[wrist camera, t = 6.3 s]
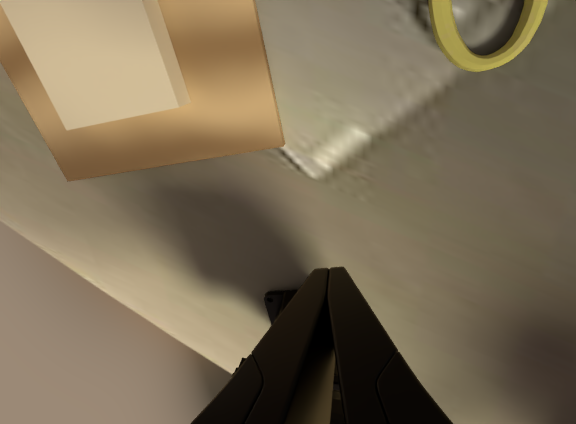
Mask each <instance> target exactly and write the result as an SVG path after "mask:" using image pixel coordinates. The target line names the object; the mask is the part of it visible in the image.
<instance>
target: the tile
mask: <svg viewBox="0 0 576 424" xmlns="http://www.w3.org/2000/svg"><path fill="white" fill-rule="evenodd" d="M0 4H1V6H2V8H3V10H4V12H5V14H6V16H7V17H8V19H9V21H10V23H11V25H12V27H13V29H14V31H15V33H16V35H17V37H18V39H19V40H20V42H21V44H22V46H23V48H24V50H25V52H26V54H27V56H28V58H29V60H30V62H31V63H32V65H33V67H34V69H35V71H36V73H37V75H38V77H39V79H40V81H41V83H42V84H43V86H44V88H45V90H46V92H47V94H48V96H49V98H50V100H51V102H52V104H53V106H54V107H55V109H56V111H57V113H58V115H59V117H60V119H61V121H62V123H63V125H64V127H65V129H66V130H71V129H76V128H81V127H86V126H91V125H96V124H101V123H105V122H110V121H115V120H120V119H125V118H130V117H135V116H140V115H144V114H149V113H154V112H159V111H164V110H169V109H174V108H179V107H181V106H184V105H186V104H188V103H191V101H190V98H189V94H188V91H187V88H186V85H185V82H184V79H183V76H182V73H181V70H180V67H179V64H178V61H177V58H176V55H175V52H174V49H173V46H172V43H171V40H170V37H169V34H168V31H167V28H166V25H165V21H164V18H163V15H162V12H161V9H160V6H159V3H158V0H0Z"/></svg>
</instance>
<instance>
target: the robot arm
mask: <svg viewBox="0 0 576 424" xmlns="http://www.w3.org/2000/svg"><path fill="white" fill-rule="evenodd" d="M270 298H272V299H270ZM264 302H265V305H266V308H267V311H268V314H269V318H270V321H271V324H272V326H271V327H270V328H269V330H268V331H267V332H266V334H265V335H264V336H263V338H262V339H261V340H260V342H259V343H258V344H257V346H256V347H255V348H254V350H253V351H252V355H251V354H250V355H249V356H248V357H247V358H242V360H241V362H240V365H239V367H238V368H236V370H235V372H234V373H233V374H232V378H231V379H230V380H229V381H228V383H227V384H226V385H225V386H224V387H223V388H222V390H221V391H220V392H219V393H218V394H217V395H216V396H215V397H214V399H213V400H212V401H211V402H210V403H209V404H208V405H207V406H206V408H205V409H204V410H203V411H202V412H201V413H200V414H199V415H198V416H197V417H196V418H195V419H194V420H193V421H192V423H191V424H453V423H452V422H451V420H450V419H449V418H448V417H447V416H446V414H445V413H444V412H443V411H442V410H441V408H440V407H439V406H438V405H437V403H436V402H435V401H434V400H433V398H432V397H431V396H430V395H429V393H428V392H427V391H426V390H425V388H424V387H423V386H422V384H421V383H420V382H419V380H418V379H417V377H416V376H415V374H414V373H413V372H412V370H411V369H410V367H409V366H408V364H407V363H406V361H405V360H404V358H403V357H402V355H401V354H400V352H398V349H397V348H396V346H395V345H394V343H393V342H392V340H391V338H390V337H389V335H388V334H387V332H386V331H385V329H384V328H383V326H382V325H381V323H380V321H379V320H378V318H377V317H376V315H375V314H374V312H373V311H372V309H371V308H370V306H369V305H368V303H367V301H366V300H365V298H364V297H363V295H362V294H361V292H360V291H359V289H358V288H357V286H356V284H355V283H354V281H353V280H352V278H351V277H350V275H349V274H348V272H347V271H346V269H345V268H344V267H332V268H330V269H328V268H318V269H314V270H313V272H312V273H311V274H310V276H309V277H308V278H307V280H306V281H305V282H304V283H303V285H302V286H301V287H300V289H299V290H291V291H275V292H267V293H266V294H265V297H264Z"/></svg>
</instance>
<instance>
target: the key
mask: <svg viewBox="0 0 576 424" xmlns="http://www.w3.org/2000/svg"><path fill="white" fill-rule="evenodd" d="M547 2H548V0H524V5H523V9H522V12H521V15H520V19H519V21H518V24H517V26H516V28H515V30H514V32H513V34H512V36H511V38H510V39H509V40H508V42H507V43H506V44H505V45H504V46H503V47H502V48H500V49H499V50H498V51H496V52H494V53H492V54H489V55H484V56H481V55H477V54H475V53H473V52H471V51H470V50H469V49H468V47H467V46H466V45H465V43H464V41H463V40H462V38H461V36H460V34H459V32H458V30H457V27H456V24H455V20H454V16H453V12H452V3H451V0H428V3H429V13H430V20H431V24H432V29H433V33H434V36H435V39H436V41H437V44H438V45H439V47H440V49H441V50H442V52H443V53H444V55H445V56H446V57H447V58H448V59H449V61H451V62H452V63H453V64H454V65H456V66H457V67H459V68H461V69H464V70H467V71H473V72H479V71H484V70H489V69H493V68H496V67H498V66H501V65H503V64H505V63H507V62H509V61H510V60H512V59H513V58H514V57H516V56H517V55H518V54H519V53H520V52H521V51H522V50H523V49H524V48H525V47H526V46H527V45H528V43H529V42H530V41H531V39H532V37H533V35H534V33H535V32H536V30H537V28H538V26H539V24H540V23H541V20H542V17H543V14H544V12H545V9H546V6H547Z"/></svg>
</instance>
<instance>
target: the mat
mask: <svg viewBox="0 0 576 424" xmlns="http://www.w3.org/2000/svg"><path fill="white" fill-rule="evenodd" d="M158 3H159V6H160V9H161V12H162V15H163V18H164V21H165V25H166V28H167V31H168V34H169V37H170V40H171V43H172V46H173V49H174V52H175V55H176V58H177V61H178V64H179V67H180V70H181V73H182V76H183V79H184V82H185V85H186V88H187V91H188V94H189V98H190V101H191V103H188V104H186V105H184V106H181V107H179V108H174V109H169V110H164V111H159V112H154V113H149V114H144V115H140V116H135V117H130V118H125V119H120V120H115V121H110V122H105V123H101V124H96V125H91V126H86V127H81V128H76V129H71V130H66V129H65V127H64V125H63V123H62V121H61V119H60V117H59V115H58V113H57V111H56V109H55V107H54V106H53V104H52V102H51V100H50V98H49V96H48V94H47V92H46V90H45V88H44V86H43V84H42V83H41V81H40V79H39V77H38V75H37V73H36V71H35V69H34V67H33V65H32V63H31V62H30V60H29V58H28V56H27V54H26V52H25V50H24V48H23V46H22V44H21V42H20V40H19V39H18V37H17V35H16V33H15V31H14V29H13V27H12V25H11V23H10V21H9V19H8V17H7V16H6V14H5V12H4V10H3V8H2V6H1V4H0V62H1V64H2V65H3V67H4V69H5V71H6V72H7V74H8V76H9V78H10V80H11V81H12V83H13V85H14V87H15V88H16V90H17V92H18V94H19V96H20V97H21V99H22V101H23V103H24V104H25V106H26V108H27V110H28V112H29V113H30V115H31V117H32V119H33V120H34V122H35V124H36V126H37V128H38V129H39V131H40V133H41V135H42V136H43V138H44V140H45V142H46V144H47V145H48V147H49V149H50V151H51V152H52V154H53V156H54V158H55V160H56V161H57V163H58V165H59V167H60V168H61V170H62V172H63V174H64V176H65V177H66V179H67V181H74V180H80V179H86V178H92V177H98V176H104V175H110V174H117V173H123V172H129V171H135V170H141V169H147V168H153V167H160V166H166V165H172V164H178V163H184V162H190V161H197V160H203V159H209V158H215V157H221V156H227V155H233V154H240V153H246V152H252V151H258V150H264V149H270V148H276V147H283V146H284V145H285V141H284V136H283V131H282V126H281V122H280V117H279V112H278V107H277V103H276V98H275V93H274V88H273V84H272V79H271V74H270V69H269V65H268V60H267V55H266V50H265V46H264V41H263V36H262V31H261V27H260V22H259V17H258V12H257V7H256V3H255V0H158Z"/></svg>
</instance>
